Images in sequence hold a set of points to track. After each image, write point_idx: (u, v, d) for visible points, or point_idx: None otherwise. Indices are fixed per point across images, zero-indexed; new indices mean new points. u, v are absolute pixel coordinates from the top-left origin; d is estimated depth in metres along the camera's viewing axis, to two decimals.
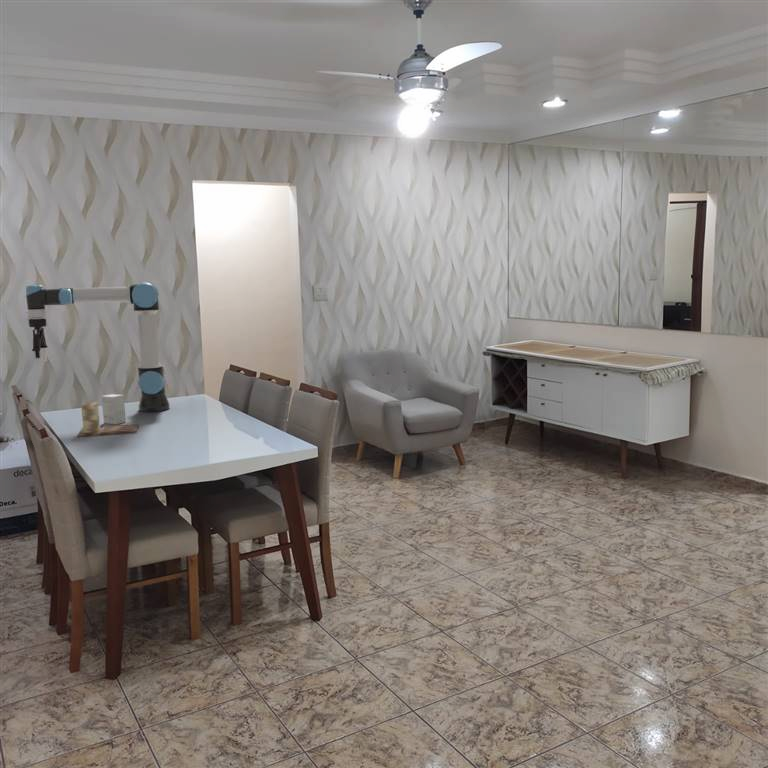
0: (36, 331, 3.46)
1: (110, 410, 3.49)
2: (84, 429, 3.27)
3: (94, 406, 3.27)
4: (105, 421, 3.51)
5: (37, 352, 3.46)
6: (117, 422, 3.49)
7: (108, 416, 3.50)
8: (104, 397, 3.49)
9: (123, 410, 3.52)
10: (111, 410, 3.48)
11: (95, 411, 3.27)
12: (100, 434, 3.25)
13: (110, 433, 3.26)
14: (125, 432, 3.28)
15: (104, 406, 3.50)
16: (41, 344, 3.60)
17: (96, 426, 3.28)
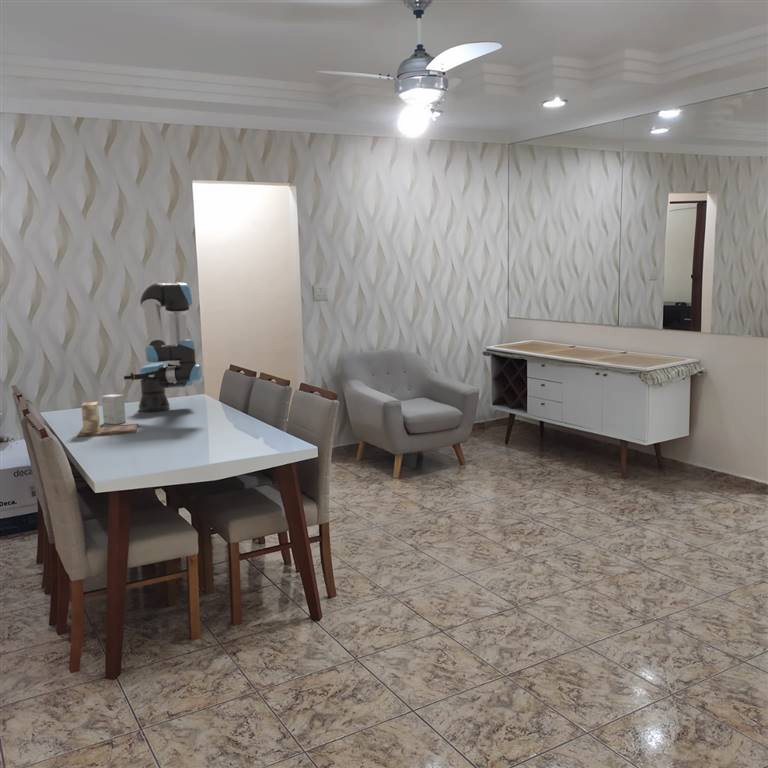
0: None
1: (110, 410, 3.49)
2: (84, 429, 3.27)
3: (94, 406, 3.27)
4: (105, 421, 3.51)
5: None
6: (117, 422, 3.49)
7: (108, 416, 3.50)
8: (104, 397, 3.49)
9: (123, 410, 3.52)
10: (111, 410, 3.48)
11: (95, 411, 3.27)
12: (100, 434, 3.25)
13: (110, 433, 3.26)
14: (125, 432, 3.28)
15: (104, 406, 3.50)
16: None
17: (96, 426, 3.28)
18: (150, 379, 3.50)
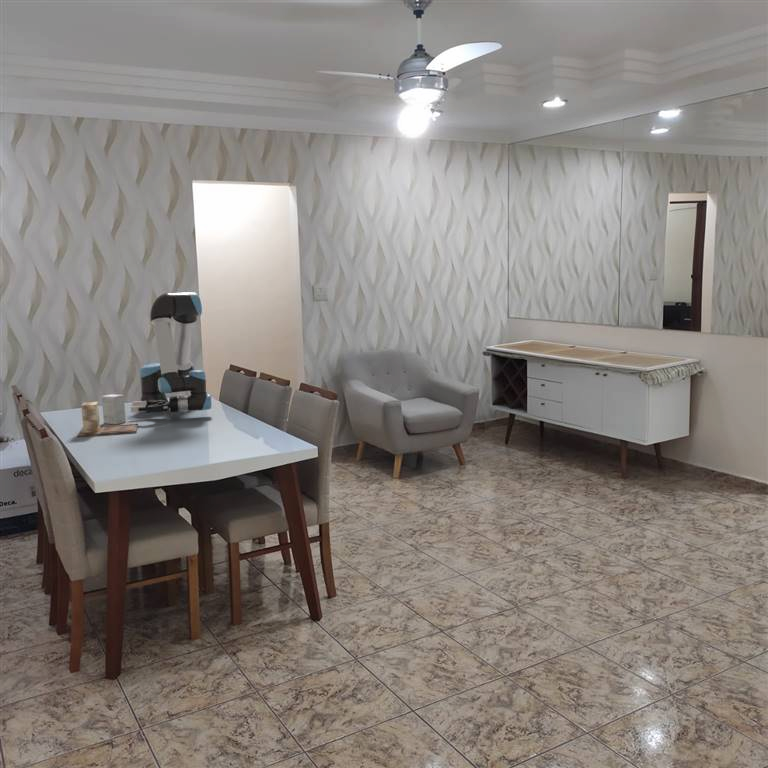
0: None
1: (110, 410, 3.49)
2: (84, 429, 3.27)
3: (94, 406, 3.27)
4: (105, 421, 3.51)
5: None
6: (117, 422, 3.49)
7: (108, 416, 3.50)
8: (104, 397, 3.49)
9: (123, 410, 3.52)
10: (111, 410, 3.48)
11: (95, 411, 3.27)
12: (100, 434, 3.25)
13: (110, 433, 3.26)
14: (125, 432, 3.28)
15: (104, 406, 3.50)
16: None
17: (96, 426, 3.28)
18: None
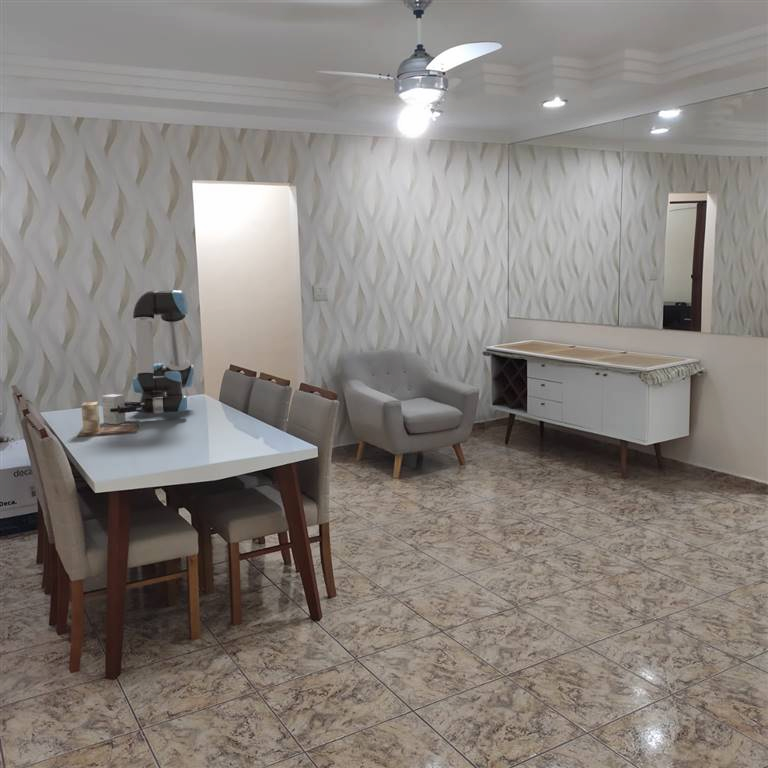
0: None
1: None
2: (84, 429, 3.27)
3: (94, 406, 3.27)
4: (105, 421, 3.51)
5: None
6: (117, 422, 3.49)
7: (108, 416, 3.50)
8: (104, 397, 3.49)
9: None
10: None
11: (95, 411, 3.27)
12: (100, 434, 3.25)
13: (110, 433, 3.26)
14: (125, 432, 3.28)
15: (104, 406, 3.50)
16: None
17: (96, 426, 3.28)
18: None
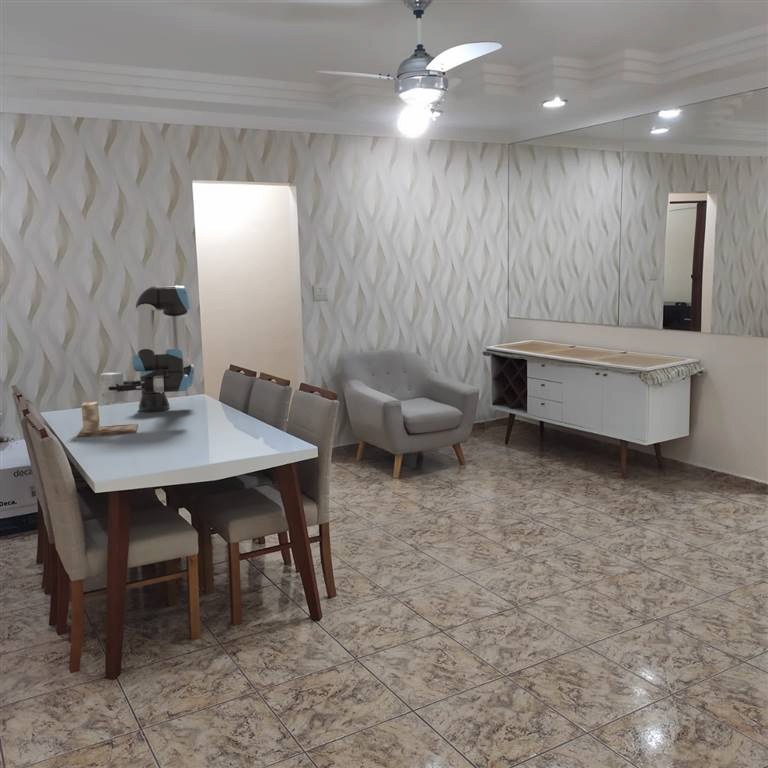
0: None
1: None
2: (84, 429, 3.27)
3: (94, 406, 3.27)
4: (103, 400, 3.37)
5: None
6: (116, 401, 3.35)
7: (106, 395, 3.36)
8: (102, 375, 3.35)
9: None
10: None
11: (95, 411, 3.27)
12: (100, 434, 3.25)
13: (110, 433, 3.26)
14: (125, 432, 3.28)
15: None
16: None
17: (96, 426, 3.28)
18: None
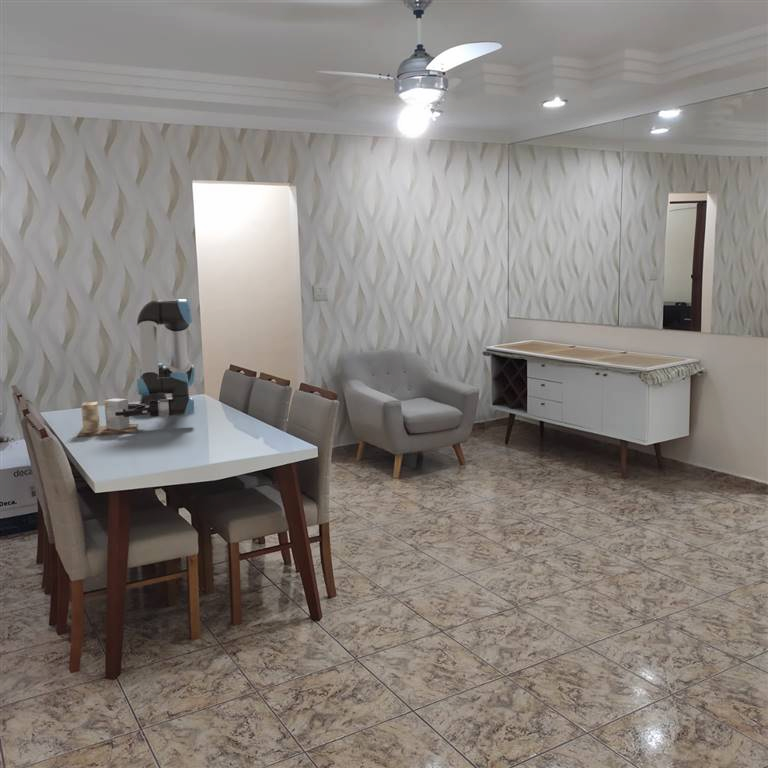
0: None
1: None
2: (84, 429, 3.27)
3: (94, 406, 3.27)
4: (108, 427, 3.33)
5: None
6: (121, 428, 3.31)
7: (111, 422, 3.31)
8: (107, 401, 3.31)
9: None
10: None
11: (95, 411, 3.27)
12: (100, 434, 3.25)
13: (110, 433, 3.26)
14: (125, 432, 3.28)
15: None
16: None
17: (96, 426, 3.28)
18: None
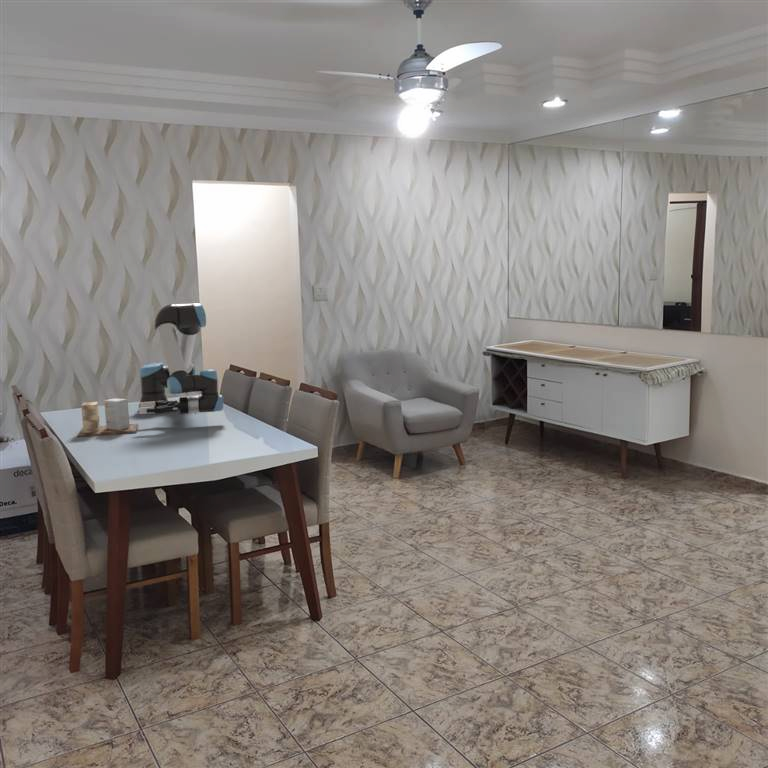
0: None
1: (113, 415, 3.30)
2: (84, 429, 3.27)
3: (94, 406, 3.27)
4: (108, 427, 3.33)
5: None
6: (121, 428, 3.31)
7: (111, 422, 3.31)
8: (107, 401, 3.31)
9: (127, 415, 3.34)
10: (114, 415, 3.30)
11: (95, 411, 3.27)
12: (100, 434, 3.25)
13: (110, 433, 3.26)
14: (125, 432, 3.28)
15: (107, 411, 3.32)
16: None
17: (96, 426, 3.28)
18: None
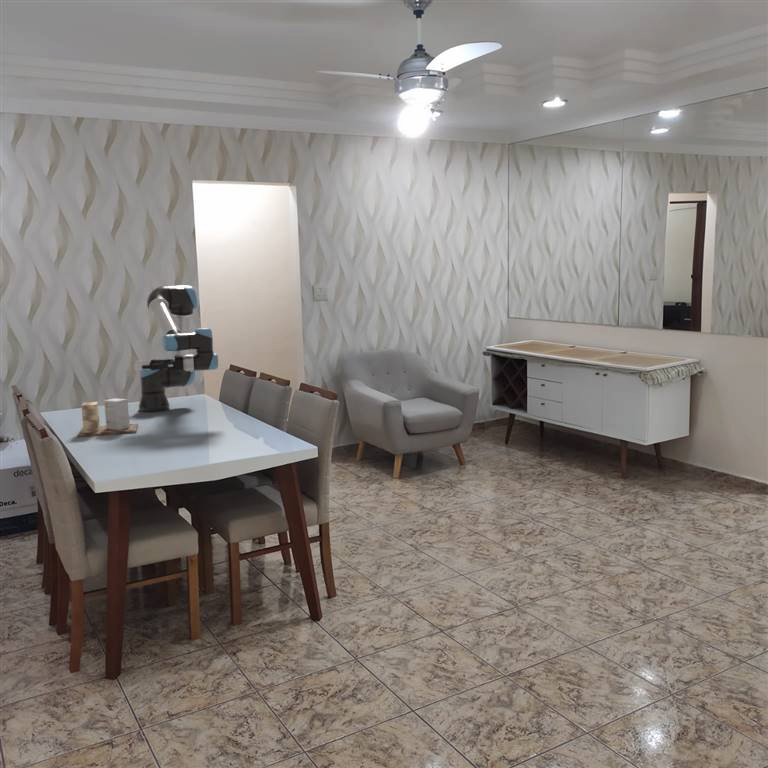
0: None
1: (113, 415, 3.30)
2: (84, 429, 3.27)
3: (94, 406, 3.27)
4: (108, 427, 3.33)
5: None
6: (121, 428, 3.31)
7: (111, 422, 3.31)
8: (107, 401, 3.31)
9: (127, 415, 3.34)
10: (114, 415, 3.30)
11: (95, 411, 3.27)
12: (100, 434, 3.25)
13: (110, 433, 3.26)
14: (125, 432, 3.28)
15: (107, 411, 3.32)
16: None
17: (96, 426, 3.28)
18: None
